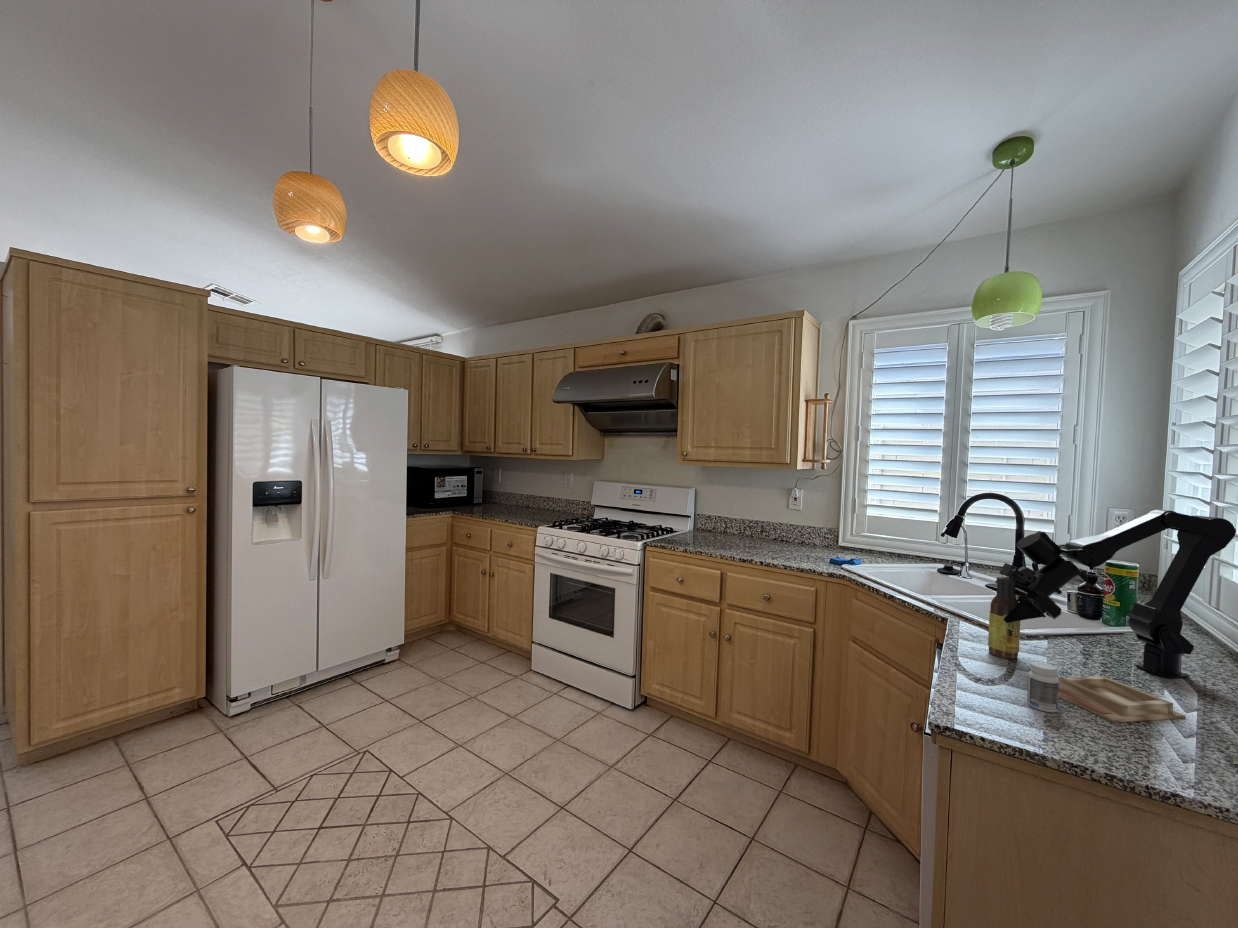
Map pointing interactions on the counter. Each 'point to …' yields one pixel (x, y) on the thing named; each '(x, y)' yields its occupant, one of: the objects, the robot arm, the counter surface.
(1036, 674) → the pill bottle
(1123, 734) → the counter surface
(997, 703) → the counter surface
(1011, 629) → the sauce bottle
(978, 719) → the counter surface
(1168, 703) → the wooden tray
